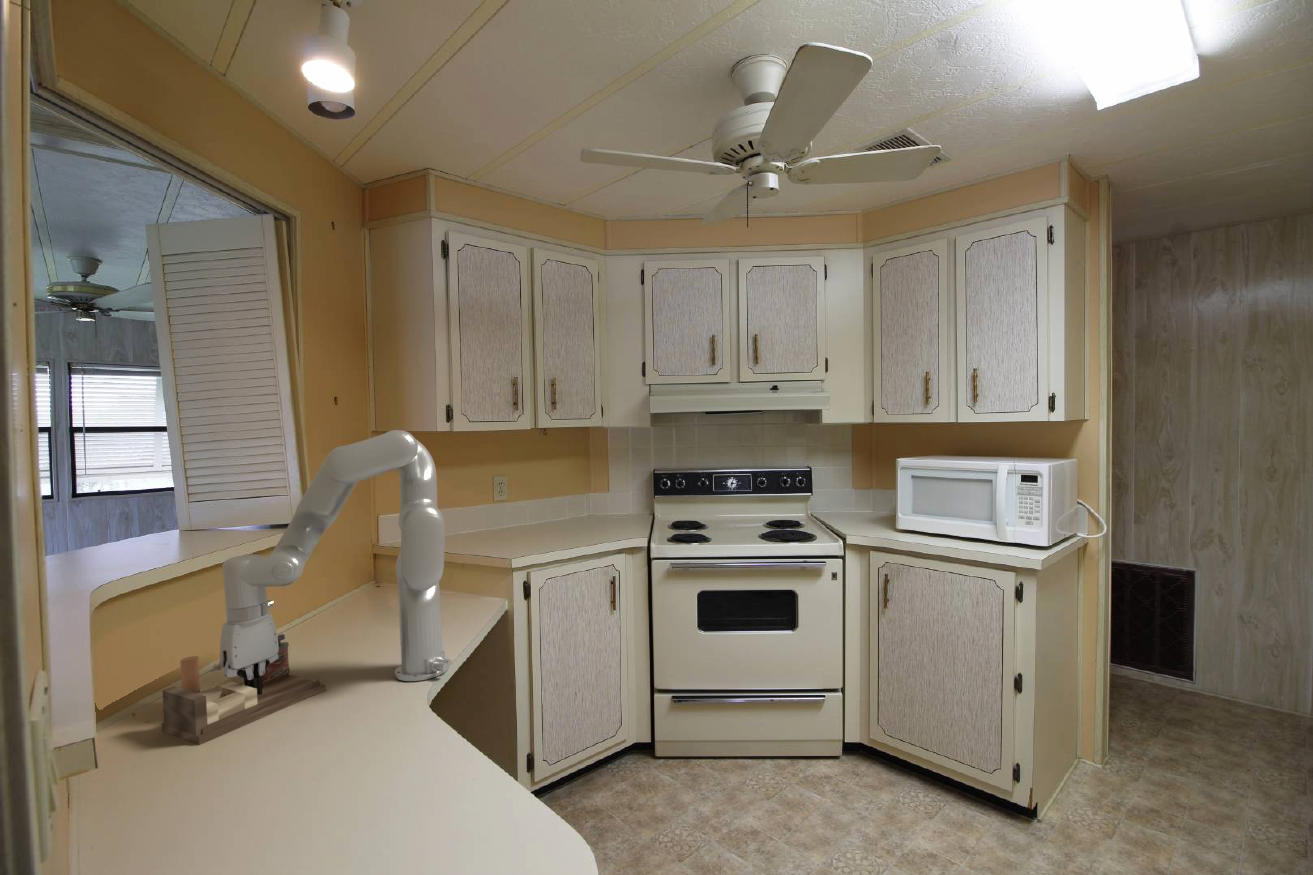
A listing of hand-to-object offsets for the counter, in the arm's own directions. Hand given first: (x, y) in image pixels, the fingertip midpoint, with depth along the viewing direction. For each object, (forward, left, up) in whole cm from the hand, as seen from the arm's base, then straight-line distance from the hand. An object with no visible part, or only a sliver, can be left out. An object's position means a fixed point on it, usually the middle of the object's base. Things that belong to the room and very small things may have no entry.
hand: (254, 694), depth 132 cm
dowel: (+16, +5, -3) cm, 17 cm away
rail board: (0, +1, -3) cm, 3 cm away
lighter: (+12, -11, -3) cm, 17 cm away
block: (0, +7, -1) cm, 7 cm away
